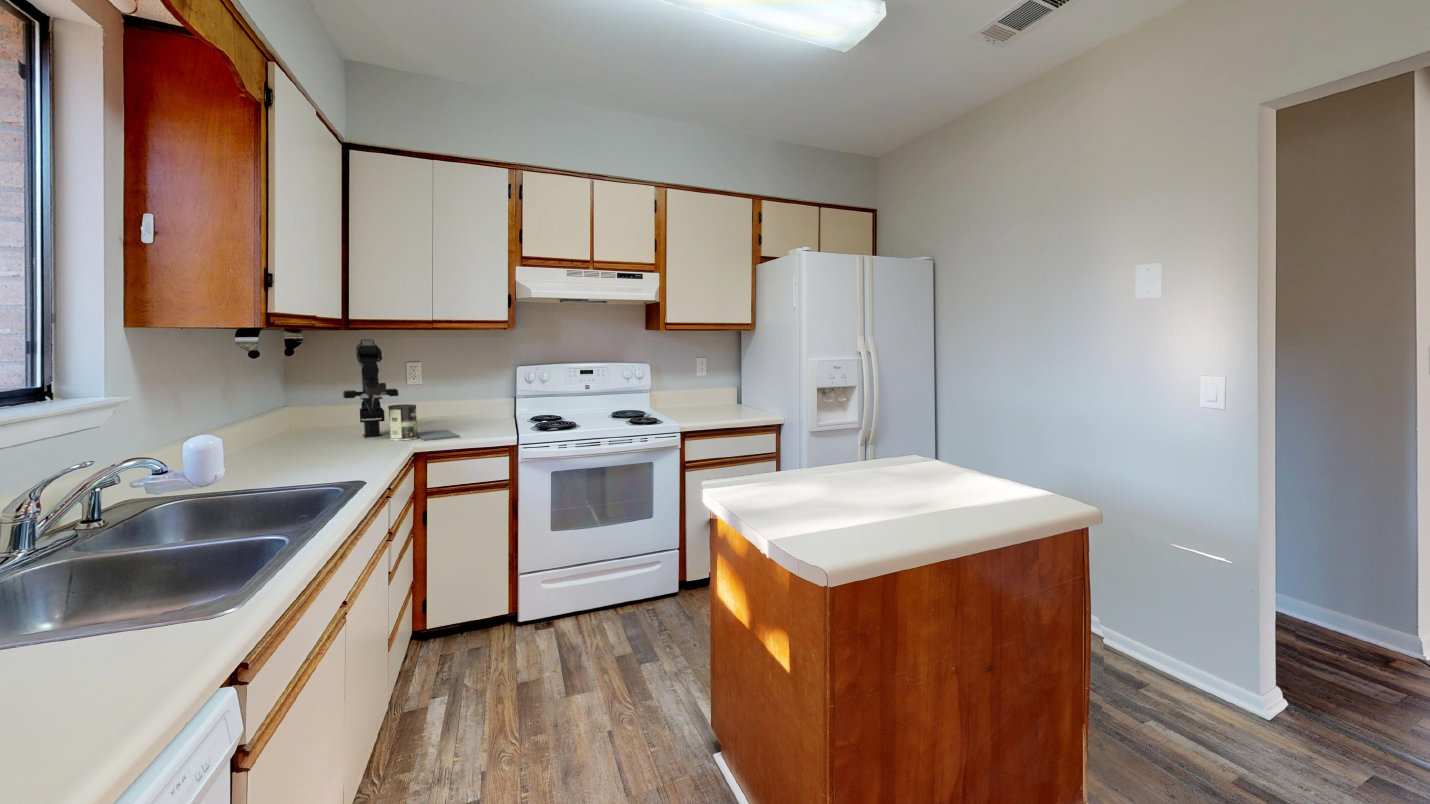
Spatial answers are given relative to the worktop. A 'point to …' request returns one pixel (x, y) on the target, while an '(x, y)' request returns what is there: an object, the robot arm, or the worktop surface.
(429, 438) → the rubber mat
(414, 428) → the coffee can
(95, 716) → the worktop surface
